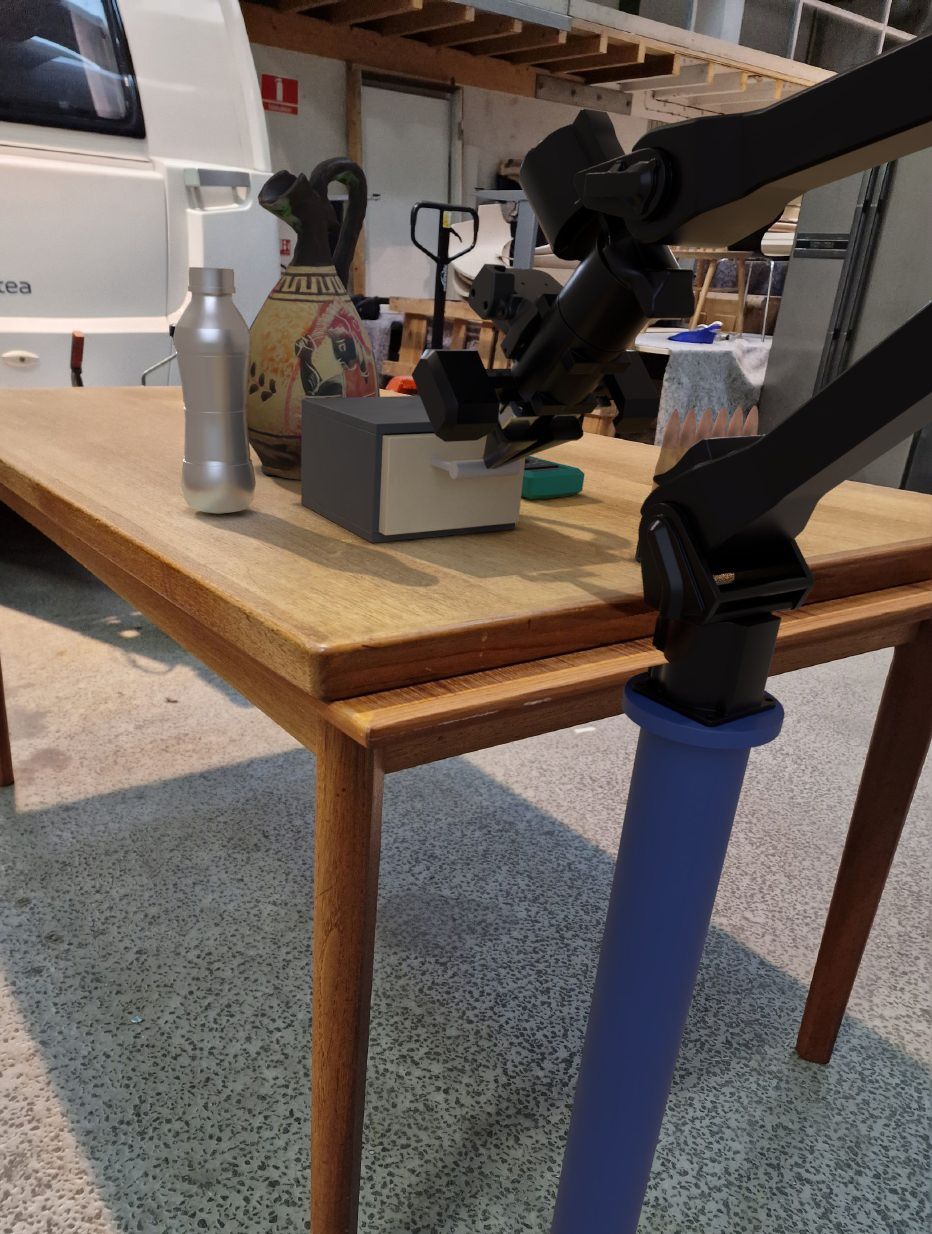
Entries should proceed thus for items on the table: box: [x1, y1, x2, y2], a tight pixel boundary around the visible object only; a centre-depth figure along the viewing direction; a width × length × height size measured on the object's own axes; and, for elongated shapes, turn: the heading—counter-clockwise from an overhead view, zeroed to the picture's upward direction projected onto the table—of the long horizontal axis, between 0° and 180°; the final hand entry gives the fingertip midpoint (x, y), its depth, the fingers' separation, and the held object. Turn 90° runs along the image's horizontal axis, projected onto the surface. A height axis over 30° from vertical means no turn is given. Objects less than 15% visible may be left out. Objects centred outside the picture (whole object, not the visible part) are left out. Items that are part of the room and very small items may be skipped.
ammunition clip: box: [634, 405, 759, 562], centre depth 78 cm, size 11×2×12 cm, turn 120°
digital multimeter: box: [521, 455, 585, 500], centre depth 104 cm, size 7×15×3 cm, turn 32°
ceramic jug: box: [246, 156, 381, 481], centre depth 99 cm, size 17×15×30 cm
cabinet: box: [300, 395, 517, 544], centre depth 87 cm, size 15×15×10 cm
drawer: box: [379, 432, 525, 535], centre depth 84 cm, size 18×13×8 cm
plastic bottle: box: [173, 266, 257, 515], centre depth 83 cm, size 6×7×20 cm
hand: (488, 464), depth 76 cm, fingers closed, pressing on drawer
